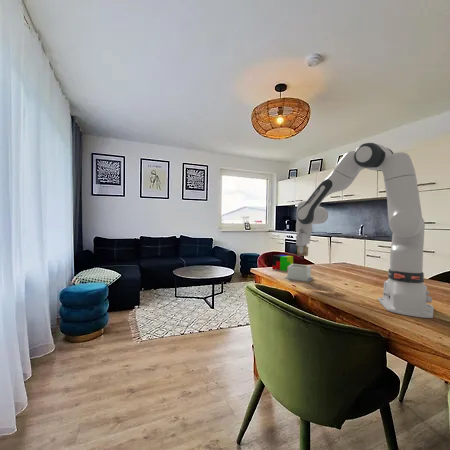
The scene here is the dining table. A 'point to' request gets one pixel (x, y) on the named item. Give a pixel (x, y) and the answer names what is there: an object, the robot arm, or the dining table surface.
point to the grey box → (299, 272)
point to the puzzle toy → (281, 262)
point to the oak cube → (305, 251)
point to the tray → (302, 280)
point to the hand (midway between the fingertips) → (302, 252)
